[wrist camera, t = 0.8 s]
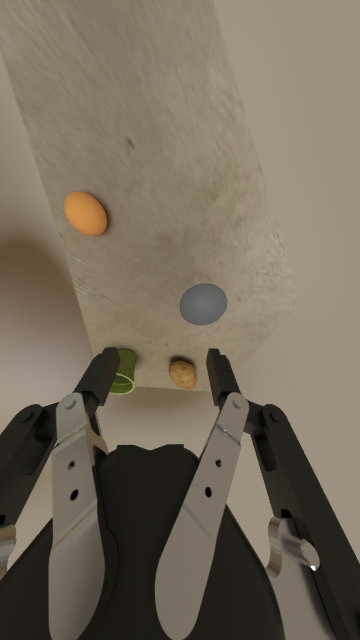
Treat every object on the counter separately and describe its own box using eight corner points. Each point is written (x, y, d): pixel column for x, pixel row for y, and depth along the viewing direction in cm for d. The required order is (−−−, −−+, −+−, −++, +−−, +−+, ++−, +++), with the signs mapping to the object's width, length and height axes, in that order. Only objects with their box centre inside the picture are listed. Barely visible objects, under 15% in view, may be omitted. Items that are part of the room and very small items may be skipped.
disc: (173, 292, 35) (173, 292, 35) (223, 277, 33) (224, 277, 32) (186, 329, 42) (186, 329, 42) (228, 318, 40) (229, 319, 40)
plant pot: (149, 354, 49) (142, 384, 40) (131, 368, 54) (121, 398, 45) (120, 338, 44) (105, 367, 35) (103, 355, 49) (85, 385, 40)
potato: (185, 349, 48) (187, 369, 41) (200, 370, 55) (203, 390, 49) (162, 358, 50) (160, 378, 44) (179, 376, 58) (180, 396, 51)
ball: (71, 202, 24) (44, 197, 19) (99, 189, 23) (78, 179, 18) (93, 239, 28) (74, 242, 23) (118, 228, 27) (105, 229, 22)
